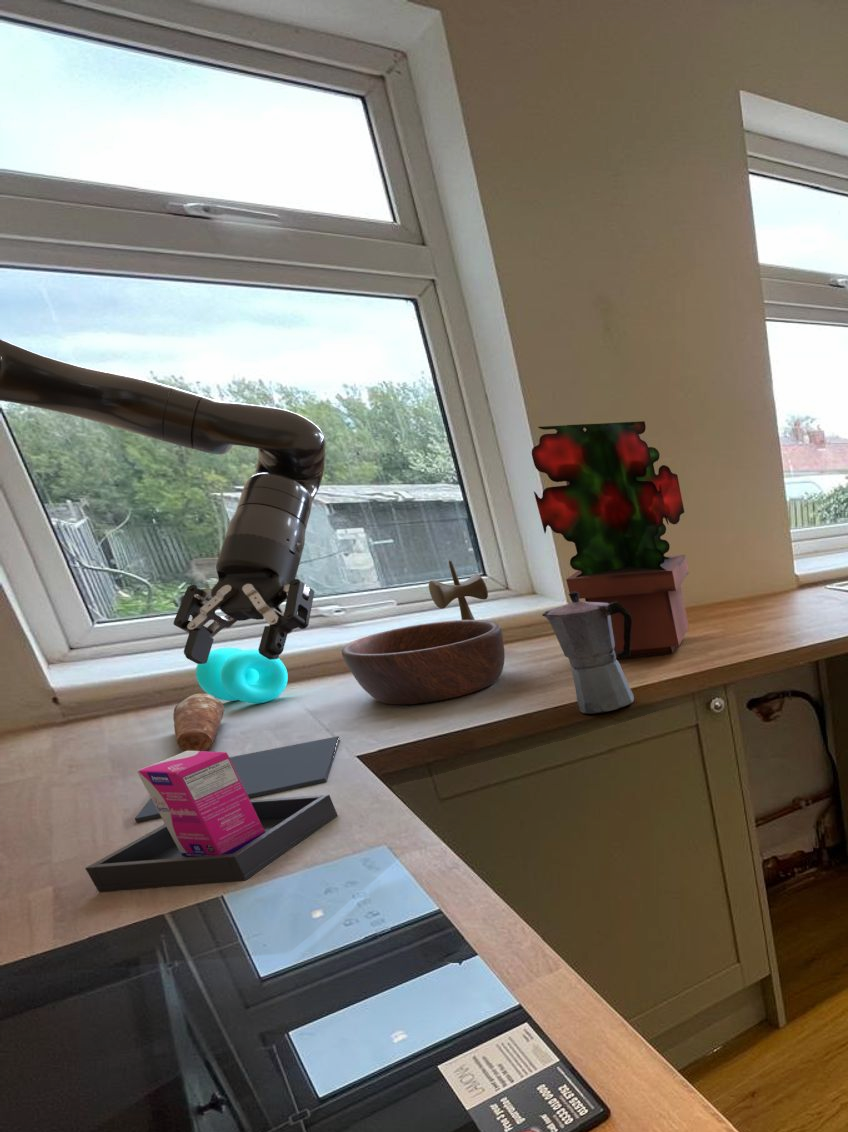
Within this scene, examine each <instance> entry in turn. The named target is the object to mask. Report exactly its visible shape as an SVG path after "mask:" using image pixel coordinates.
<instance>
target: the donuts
mask: <svg viewBox="0 0 848 1132" xmlns="http://www.w3.org/2000/svg"><path fill="white" fill-rule="evenodd" d="M258 649H259V648H258ZM258 649H257V648H256V649H255V648H249V649H241V648H238V647H231V646H224V647H217V648H215V649H211V650H210V654H209V657H208V660H207V663H205V664H197V663H196V664H197V665H196V667H195V678H196V681H197V683H198V685H199V688H200V689H202V690H203V691H204V692H205V694H210V695H212V696H214V697H215V698H216V699H218V700H220V701H228V702H234V701H235V702H237V701H240V702H243V703H247V704H257V705H258V704H264V703H268V702H271V701H273V700H275V699H277V698H279V696H281V694H283V692H284V691H285V690H286V688H287V685H288V682H289V675H288V671H287V668H286V666H285V664H284V662H283V661H282V660H281V659H280V658H279V657H278V659H271V660H270V659H268V658H266V657H264V656H263V655H261V654H260V653H259V651H258Z"/></svg>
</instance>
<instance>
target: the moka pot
mask: <svg viewBox="0 0 848 1132" xmlns="http://www.w3.org/2000/svg"><path fill="white" fill-rule="evenodd" d="M568 596H569V599H570V601H571V602H569V603H567V604H564V605H561V606H558V607H553V608H550V609H548V610H545V611H544V612H543V613H542V614H541V615H542V617H545V618H546V619H547V620H548V622H549V624H550V627H551V628H552V630H553V633H554V635H555V637H556V639H557V641H558V644H559V646H560V648H561V650H562V652H563V654H564V657H565V658H567V659H568V661H569V663H570V664H569V665H570V667H572V679H573V684H574V690H575V695H576V703H577V707H578V711H579V712H580V713H582V714H586V715H592V714H602V713H607V712H612V711H616V710H618V709H621V708H624V707H626V706H628V705H631V704H633V702H634V701H635V696H634V694H633V691H632V689H631V686H630V685H629V683H628V680H627V678H626V676H625V674H624V672H623V669H622V666H621V664H620V661H619V660H617V659H616V657H618V658H619V659H624V658H623V657H627V656H630V646H631V644H630V641H631V629H632V627H631V626H632V620H631V614H630V613H629V612H627V610H626V609H625V608H623V607H621V605H620V604H618V602H613V603H611V604H608V603H602V602H586V601H583V600H580V599H579V592H571V593H569V592H568ZM616 613H621V614H622V615H623V616H624V642H625V643H624V647H623V650H624V651H623V652H617V653H616V654H615V651H614V647H615V642H614V635H613V629H612V623H611V616H610V615H614V614H616Z"/></svg>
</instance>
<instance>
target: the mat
mask: <svg viewBox="0 0 848 1132" xmlns="http://www.w3.org/2000/svg"><path fill="white" fill-rule="evenodd" d="M338 738H339V739H340V737H339V736H332V737H327V738H326V737H325V738H321V739H316V740H311V741H307V742H301V743H296V744H290V745H286V746H280V747H275V748H271V749H265V750H260V751H254V752H251V753H244V754H240V755H235V756H229V758H230V760H231V762H232V764H233V766H234V768H235V770H236V772H237V775H238V777H239V779H240V781H241V783H242V785H243V787H244V789H245V791H246V793H247V795H248V797H249V799H253V798H256V797H262V796H266V795H272V794H275V793H280V792H284V791H289V790H294V789H299V788H303V787H308V786H309V787H310V786H313V785H318V784H322V783H326V782H327V780H328V777H329V774H330V770H331V768H332V765H333V762H332V761H334V759H333V756H334V757H335V755H334V752H335V747H336V743H337V740H338ZM335 753H336V752H335ZM159 818H162V817H161V815H160V814H159V812H158V810H157V808H156V806H155V804H154V802H153V800H152V799H151V797H150V798H149V800H148V801H146V804H145V805H144V806H143V807H142V808H141V809H140V811H139V812H138V813H137V815H136V816H135V818H134V821H135V822H136V823H141V822H146V821H150V820H155V819H159Z"/></svg>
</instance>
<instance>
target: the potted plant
mask: <svg viewBox="0 0 848 1132" xmlns="http://www.w3.org/2000/svg"><path fill="white" fill-rule="evenodd" d="M537 428H538V429H540V430H544V431H547V430H555V431H556V432H554V433H544V434H542V435H540V436H539V441H538V442H539V443H538V444H537V445H534V447H532V448H531V458H532V461H533V465H534V467H535V469H536V470H537V471H538V472H539V473H543V474H546V475H547V477H548V478H549V480H550V481H552V482H555V483H563V482H565V483H566V484H565V485H557V486H548V487H545V488H544V489H543V491H542V496H541V498H540V497H539V495H538V494H537V492H536V491H533V494H534V498H535V503H536V506H537V508H538V513H539V517H540V521H541V525H542V529H543V532H544V534H546V533H547V527H550V529H551V531H552V532H553V533H554V534H559V535H562V537H563V538H564V540H565V541H566V542H569V543H574V547H575V550H576V554H575V555H573V556H572V557H570V560H569V565H570V567H571V568H572V570H574V571H576V572H574V573H573V574H571V575H570V576H569V577H568V578H565V580H566V584H567V589H568V594H569V593H571V592H579V600H581V599H582V600H583V599H584V600H585V602H602V603H608V604H611V603H613V602H618V604H620V605H621V607H623V608H625V609H626V610H627V612H629V613H630V614H631V620H632V626H631V627H632V629H631V641H630V644H631V646H630V656H627V657H623V658H622V659H628V658H638V657H639V658H640V657H649V656H659V655H669V654H673V653H674V651H675V650H676V648H677V647H679V646H680V645H681V643H682V641H683V639H684V638H685V636H686V634H687V632H688V630H689V628H690V625H689V619H688V616H687V610H686V606H685V600H684V595H683V590H682V586H681V585H682V583H683V582H684V580H685V579H686V578H687V576H688V575H689V574H690V571H689V565H688V561H687V556H686V554H680V555H666V556H665V554H666V553H668V552H669V551H670V549H671V548H670V542H669V541H668V540H666V539H662V537H663V536H664V535H665V534H666V532H667V526H666V525H668V526H669V525H677V524H679V522H680V521H681V520H680V519H681V518H680V517H681V515H683V514H684V513H685V508H684V502H683V498H682V492H681V487H680V482H679V476H678V474H676V473H675V472H674V473H673V472H672V470H671V468H670V467H669V466H668V465H665V464H662V465H661V466H659V468H658V473H656V471H655V465H654V464H655V463H656V462H658V461H659V460H660V457H661V456H660V455H661V454H660V452H659V450H658V449H657V448H656V447H653V446H649V445H648V443H647V442H646V441H645V440H643V439H642V438H641V437H640V435H642V434H644V433H645V432H646V422H645V421H644V420H643V421H622V422H621V421H620V422H604V423H581V424H567V425H565V424H563V425H546V426H544V425H543V426H537ZM584 429H586V430H584ZM664 519H665V522H666V525H665V523H664ZM610 616H611V623H612V629H613V635H614V642H615V647H614V651H615V654H616V653H617V652H623V651H624V650H623V647H624V643H625V642H624V616H623V615H622V614H621V613H616V614H614V615H610ZM617 659H618V660H619V659H620V658H618V657H616V660H617Z"/></svg>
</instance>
